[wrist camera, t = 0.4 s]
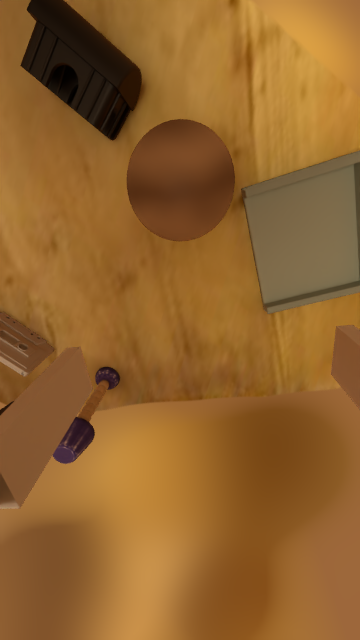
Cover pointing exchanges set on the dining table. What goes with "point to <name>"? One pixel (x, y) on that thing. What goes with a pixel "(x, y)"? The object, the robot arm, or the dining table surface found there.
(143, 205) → the bobbin spool
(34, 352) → the cassette
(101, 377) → the toy lamp
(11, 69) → the dining table surface
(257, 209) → the olive grey tray
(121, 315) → the dining table surface
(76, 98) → the end cap
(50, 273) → the dining table surface
